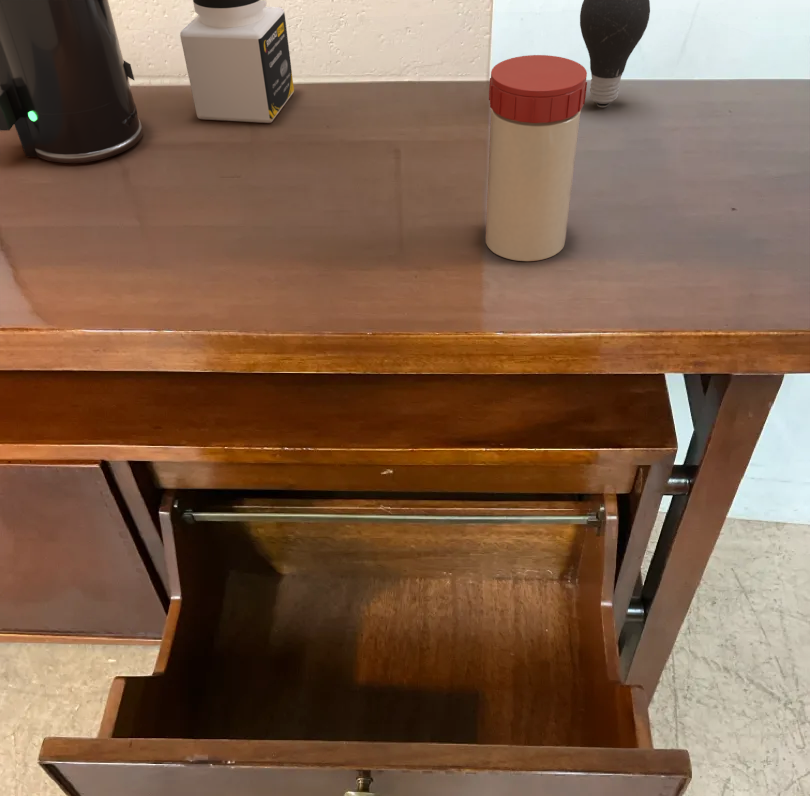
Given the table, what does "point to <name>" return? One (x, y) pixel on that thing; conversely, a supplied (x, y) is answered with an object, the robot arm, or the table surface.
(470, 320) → the table surface
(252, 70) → the medicine bottle
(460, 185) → the table surface
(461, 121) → the table surface
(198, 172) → the table surface
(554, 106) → the lid
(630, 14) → the light bulb
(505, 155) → the jar
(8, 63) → the robot arm
